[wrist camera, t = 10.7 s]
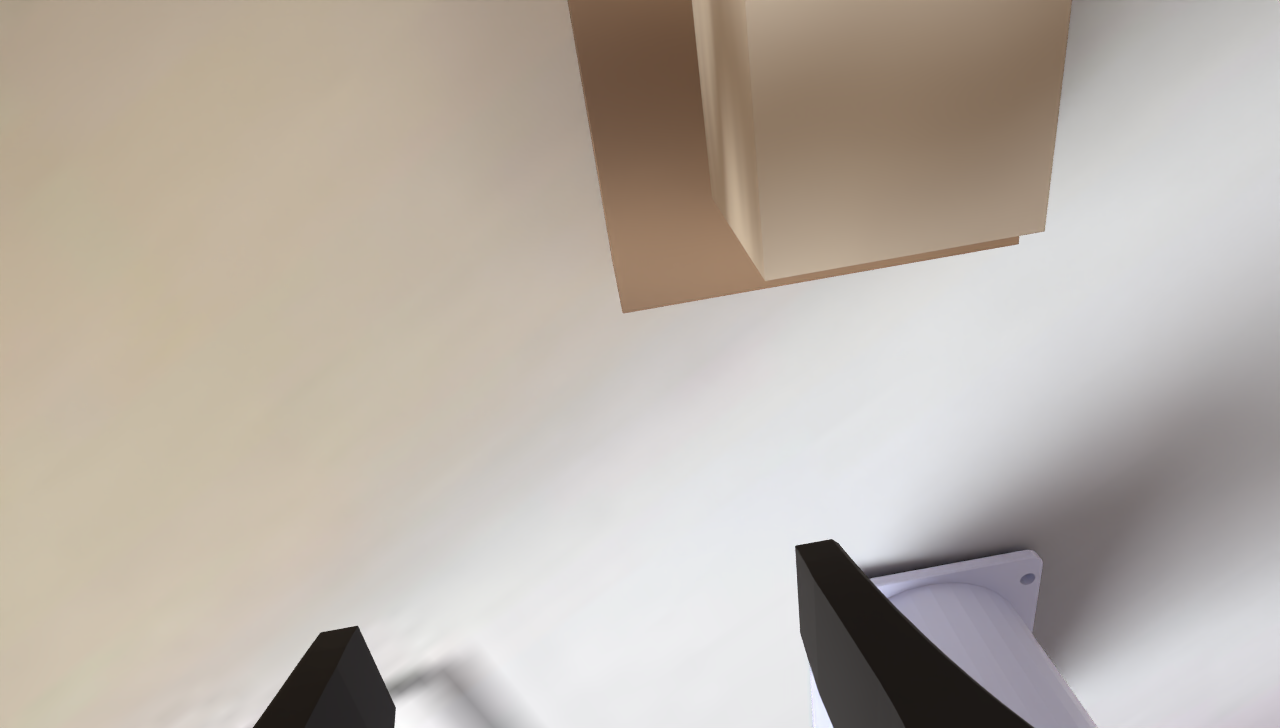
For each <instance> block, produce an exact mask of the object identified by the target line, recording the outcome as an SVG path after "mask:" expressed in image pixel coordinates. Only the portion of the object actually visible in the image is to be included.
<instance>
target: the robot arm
mask: <svg viewBox="0 0 1280 728" xmlns="http://www.w3.org/2000/svg"><path fill="white" fill-rule="evenodd" d="M795 549H796V567H797V584H798V601H799V618H800V633H801V637H802V640H803V643H804V647H805V650H806V653H807V657H808V660H809V663H810V676H811V696H812V716H813V728H1098V727H1097V726H1096V724H1095V723H1094V721H1093V720H1092V719H1091V717H1090V716H1089V714H1088V713H1087V711H1086V710H1085V709H1084V707H1083V706H1082V704H1081V703H1080V701H1079V700H1078V699H1077V697H1076V696H1075V694H1074V693H1073V691H1072V690H1071V689H1070V687H1069V686H1068V684H1067V683H1066V681H1065V680H1064V679H1063V677H1062V676H1061V674H1060V673H1059V671H1058V670H1057V669H1056V667H1055V666H1054V664H1053V663H1052V661H1051V660H1050V659H1049V657H1048V656H1047V654H1046V653H1045V651H1044V650H1043V649H1042V647H1041V646H1040V644H1039V643H1038V641H1037V640H1036V639H1035V637H1034V636H1033V634H1032V632H1033V626H1034V619H1035V613H1036V606H1037V600H1038V594H1039V587H1040V581H1041V574H1042V568H1043V561H1042V559H1041V558H1040V557H1039V556H1038V554H1037V553H1036V552H1035V551H1032V550H1022V551H1017V552H1011V553H1006V554H1000V555H995V556H990V557H984V558H979V559H973V560H968V561H962V562H957V563H951V564H946V565H941V566H935V567H930V568H924V569H919V570H913V571H908V572H903V573H897V574H892V575H886V576H881V577H875V578H870V579H869V578H868V577H867V576H866V575H865V574H864V573H863V571H862V570H861V569H860V568H859V567H858V566H857V565H856V564H855V562H854V561H853V560H852V559H851V558H850V557H849V555H848V554H847V553H846V552H845V551H844V550H843V548H842V547H841V546H840V545H839V543H837V542H835V541H834V540H832V539H830V540H825V541H819V542H814V543H808V544H803V545H797V546H795ZM395 711H396V707H395V705H394V703H393V701H392V699H391V696H390V694H389V692H388V690H387V688H386V686H385V683H384V681H383V679H382V677H381V675H380V673H379V670H378V668H377V666H376V664H375V662H374V660H373V657H372V655H371V653H370V651H369V649H368V647H367V645H366V642H365V640H364V638H363V636H362V634H361V632H360V629H359V627H358V626H354V627H348V628H343V629H337V630H332V631H326V632H321V633H320V634H319V635H318V637H317V638H316V640H315V641H314V642H313V644H312V645H311V646H310V648H309V649H308V650H307V652H306V653H305V655H304V656H303V657H302V659H301V660H300V662H299V663H298V665H297V666H296V667H295V669H294V670H293V672H292V673H291V675H290V676H289V677H288V679H287V680H286V682H285V683H284V685H283V686H282V687H281V689H280V690H279V692H278V693H277V695H276V696H275V697H274V699H273V700H272V702H271V703H270V704H269V706H268V707H267V709H266V710H265V712H264V713H263V714H262V716H261V717H260V719H259V720H258V721H257V723H256V724H255V725H254V727H253V728H394V723H395Z"/></svg>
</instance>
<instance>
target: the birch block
mask: <svg viewBox="0 0 1280 728" xmlns="http://www.w3.org/2000/svg"><path fill="white" fill-rule="evenodd" d="M1071 5H1072V0H692V7H693V17H694V27H695V37H696V46H697V56H698V66H699V76H700V85H701V95H702V105H703V115H704V125H705V134H706V144H707V154H708V164H709V173H710V183H711V193H712V199H713V200H714V202H715V203H716V205H717V207H718V208H719V210H720V211H721V213H722V214H723V216H724V218H725V219H726V221H727V222H728V224H729V225H730V227H731V229H732V230H733V232H734V233H735V235H736V236H737V238H738V239H739V241H740V243H741V244H742V246H743V247H744V249H745V250H746V252H747V254H748V255H749V257H750V258H751V260H752V261H753V263H754V265H755V266H756V268H757V269H758V271H759V272H760V274H761V275H762V277H763V279H764V280H765V281H768V280H774V279H779V278H785V277H791V276H796V275H802V274H807V273H813V272H819V271H824V270H830V269H836V268H841V267H847V266H852V265H858V264H864V263H869V262H875V261H881V260H886V259H892V258H897V257H903V256H909V255H914V254H920V253H926V252H931V251H937V250H942V249H948V248H954V247H959V246H965V245H971V244H976V243H982V242H987V241H993V240H999V239H1004V238H1010V237H1016V236H1021V235H1027V234H1032V233H1038V232H1044V231H1045V223H1046V215H1047V207H1048V198H1049V190H1050V181H1051V173H1052V164H1053V156H1054V148H1055V139H1056V131H1057V122H1058V114H1059V106H1060V97H1061V89H1062V80H1063V72H1064V64H1065V55H1066V47H1067V38H1068V30H1069V22H1070V13H1071Z"/></svg>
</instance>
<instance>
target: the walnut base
mask: <svg viewBox="0 0 1280 728" xmlns="http://www.w3.org/2000/svg"><path fill="white" fill-rule="evenodd" d="M568 5H569V11H570V17H571V23H572V29H573V34H574V40H575V46H576V52H577V58H578V63H579V69H580V75H581V81H582V87H583V92H584V98H585V104H586V110H587V116H588V122H589V127H590V133H591V139H592V145H593V151H594V156H595V162H596V168H597V174H598V180H599V185H600V191H601V197H602V203H603V209H604V215H605V220H606V226H607V232H608V238H609V244H610V249H611V255H612V261H613V266H614V272H615V277H616V282H617V287H618V292H619V297H620V302H621V307H622V312H623V313H628V312H634V311H640V310H646V309H651V308H657V307H663V306H668V305H674V304H680V303H685V302H691V301H697V300H703V299H708V298H714V297H720V296H725V295H731V294H737V293H742V292H748V291H754V290H760V289H765V288H771V287H777V286H782V285H788V284H794V283H799V282H805V281H811V280H817V279H822V278H828V277H834V276H839V275H845V274H851V273H856V272H862V271H868V270H874V269H879V268H885V267H891V266H896V265H902V264H908V263H914V262H919V261H925V260H931V259H936V258H942V257H948V256H953V255H959V254H965V253H971V252H976V251H982V250H988V249H993V248H999V247H1005V246H1010V245H1016V244H1019V236H1016V237H1010V238H1004V239H999V240H993V241H987V242H982V243H976V244H971V245H965V246H959V247H954V248H948V249H942V250H937V251H931V252H926V253H920V254H914V255H909V256H903V257H897V258H892V259H886V260H881V261H875V262H869V263H864V264H858V265H852V266H847V267H841V268H836V269H830V270H824V271H819V272H813V273H807V274H802V275H796V276H791V277H785V278H779V279H774V280H768V281H765V280H764V279H763V277H762V275H761V274H760V272H759V271H758V269H757V268H756V266H755V265H754V263H753V261H752V260H751V258H750V257H749V255H748V254H747V252H746V250H745V249H744V247H743V246H742V244H741V243H740V241H739V239H738V238H737V236H736V235H735V233H734V232H733V230H732V229H731V227H730V225H729V224H728V222H727V221H726V219H725V218H724V216H723V214H722V213H721V211H720V210H719V208H718V207H717V205H716V203H715V202H714V200H713V199H712V193H711V183H710V173H709V164H708V154H707V144H706V134H705V125H704V115H703V105H702V95H701V85H700V76H699V66H698V56H697V46H696V37H695V27H694V17H693V7H692V0H568Z"/></svg>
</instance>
